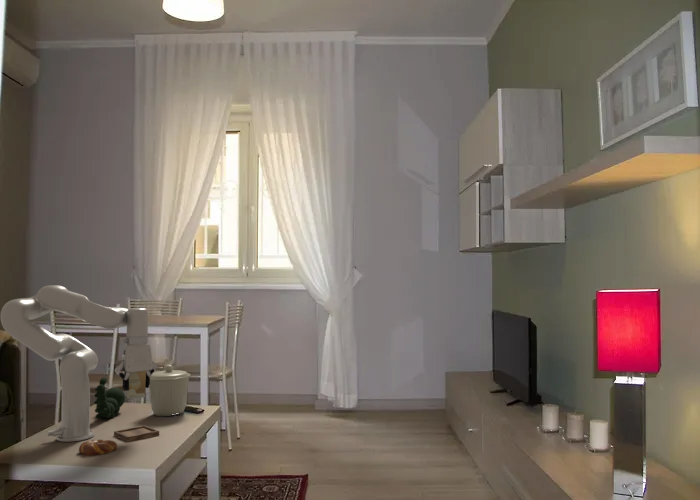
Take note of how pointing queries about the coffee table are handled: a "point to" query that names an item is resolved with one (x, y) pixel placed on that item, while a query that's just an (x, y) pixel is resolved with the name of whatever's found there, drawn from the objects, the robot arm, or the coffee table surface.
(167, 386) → the canister
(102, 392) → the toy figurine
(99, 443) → the pretzel
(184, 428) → the coffee table surface
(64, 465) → the coffee table surface
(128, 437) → the wooden tray
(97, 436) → the coffee table surface
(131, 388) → the skincare box
